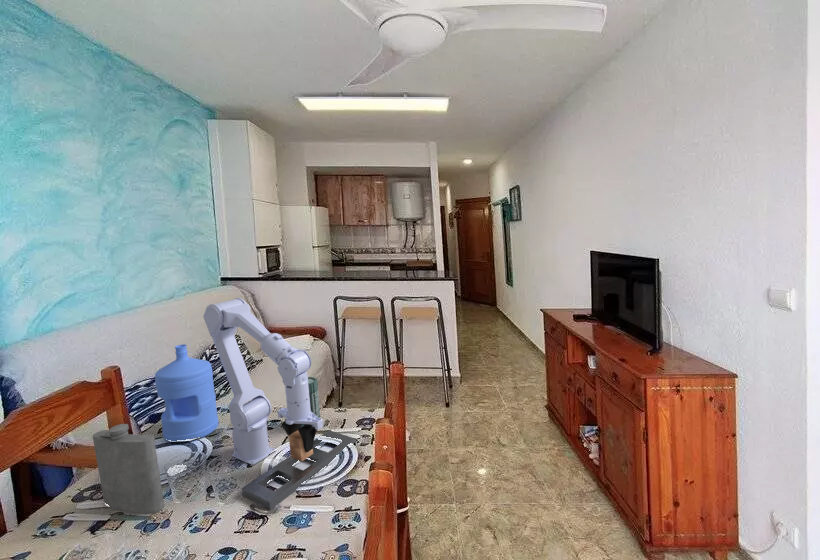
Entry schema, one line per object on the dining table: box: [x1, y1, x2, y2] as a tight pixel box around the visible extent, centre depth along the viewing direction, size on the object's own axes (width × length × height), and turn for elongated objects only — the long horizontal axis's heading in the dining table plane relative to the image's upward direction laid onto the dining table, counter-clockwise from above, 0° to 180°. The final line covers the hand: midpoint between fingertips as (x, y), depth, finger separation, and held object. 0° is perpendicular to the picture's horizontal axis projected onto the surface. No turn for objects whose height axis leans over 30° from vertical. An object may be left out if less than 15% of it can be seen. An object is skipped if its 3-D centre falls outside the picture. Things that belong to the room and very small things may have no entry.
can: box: [301, 376, 321, 427], centre depth 128 cm, size 6×6×15 cm
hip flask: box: [92, 423, 165, 515], centre depth 94 cm, size 16×4×20 cm, turn 76°
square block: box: [288, 430, 313, 462], centre depth 106 cm, size 4×4×6 cm
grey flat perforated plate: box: [241, 429, 356, 511], centre depth 107 cm, size 10×30×2 cm, turn 148°
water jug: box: [154, 343, 220, 441], centre depth 127 cm, size 16×16×28 cm
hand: (302, 448), depth 106 cm, fingers closed on square block, 4 cm apart
